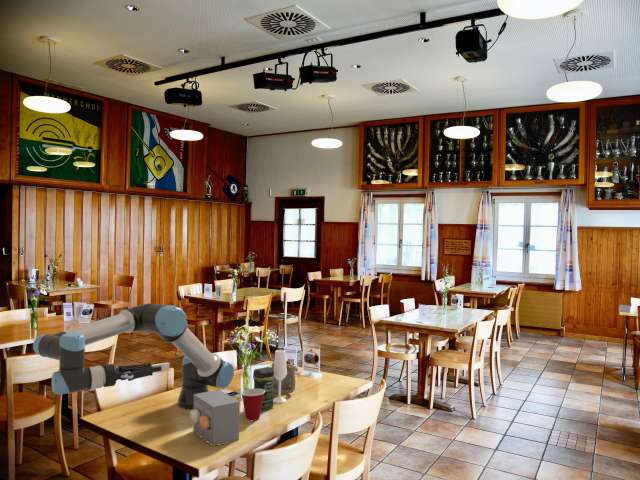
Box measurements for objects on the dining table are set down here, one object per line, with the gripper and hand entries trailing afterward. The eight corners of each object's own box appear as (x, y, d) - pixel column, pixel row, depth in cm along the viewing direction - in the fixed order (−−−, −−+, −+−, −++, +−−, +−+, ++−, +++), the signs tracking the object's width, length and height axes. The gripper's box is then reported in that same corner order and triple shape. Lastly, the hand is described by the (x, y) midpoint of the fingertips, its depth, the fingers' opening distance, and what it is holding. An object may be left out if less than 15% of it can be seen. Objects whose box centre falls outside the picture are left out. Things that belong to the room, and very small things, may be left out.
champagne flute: (273, 403, 237) (274, 352, 237) (271, 398, 244) (272, 349, 244) (287, 402, 239) (288, 352, 238) (285, 397, 245) (286, 349, 245)
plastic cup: (252, 411, 225) (253, 385, 225) (269, 417, 218) (270, 390, 218) (234, 418, 217) (235, 391, 217) (251, 424, 210) (252, 396, 210)
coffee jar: (259, 412, 224) (260, 371, 224) (249, 407, 230) (250, 367, 230) (276, 407, 231) (277, 368, 231) (266, 403, 237) (267, 364, 237)
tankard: (265, 388, 260) (266, 359, 260) (286, 384, 267) (287, 356, 267) (284, 399, 243) (284, 368, 243) (306, 395, 250) (306, 365, 250)
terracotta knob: (198, 428, 192) (198, 414, 192) (225, 421, 199) (225, 408, 199) (204, 432, 188) (204, 418, 188) (231, 425, 195) (231, 412, 195)
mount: (193, 431, 202) (193, 394, 202) (218, 425, 209) (218, 389, 209) (212, 446, 188) (213, 407, 188) (238, 439, 195) (239, 401, 194)
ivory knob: (189, 421, 199) (189, 408, 199) (215, 415, 206) (215, 403, 206) (194, 425, 195) (195, 412, 195) (221, 419, 202) (221, 406, 202)
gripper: (97, 382, 178) (162, 372, 193) (107, 392, 168) (175, 380, 182) (97, 361, 178) (162, 352, 193) (107, 369, 168) (175, 360, 182)
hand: (168, 366), depth 188 cm, fingers closed
